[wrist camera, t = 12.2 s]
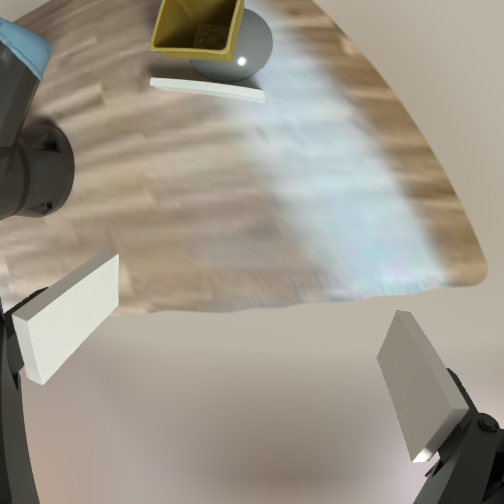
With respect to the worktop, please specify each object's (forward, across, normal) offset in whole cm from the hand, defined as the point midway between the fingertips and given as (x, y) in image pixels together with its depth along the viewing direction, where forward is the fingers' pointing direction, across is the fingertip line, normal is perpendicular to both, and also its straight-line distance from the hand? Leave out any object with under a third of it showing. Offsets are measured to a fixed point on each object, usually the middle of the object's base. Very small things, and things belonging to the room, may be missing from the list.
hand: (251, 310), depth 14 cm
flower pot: (+28, -12, +20) cm, 36 cm away
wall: (+29, -10, +13) cm, 33 cm away
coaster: (+29, -9, +20) cm, 36 cm away
